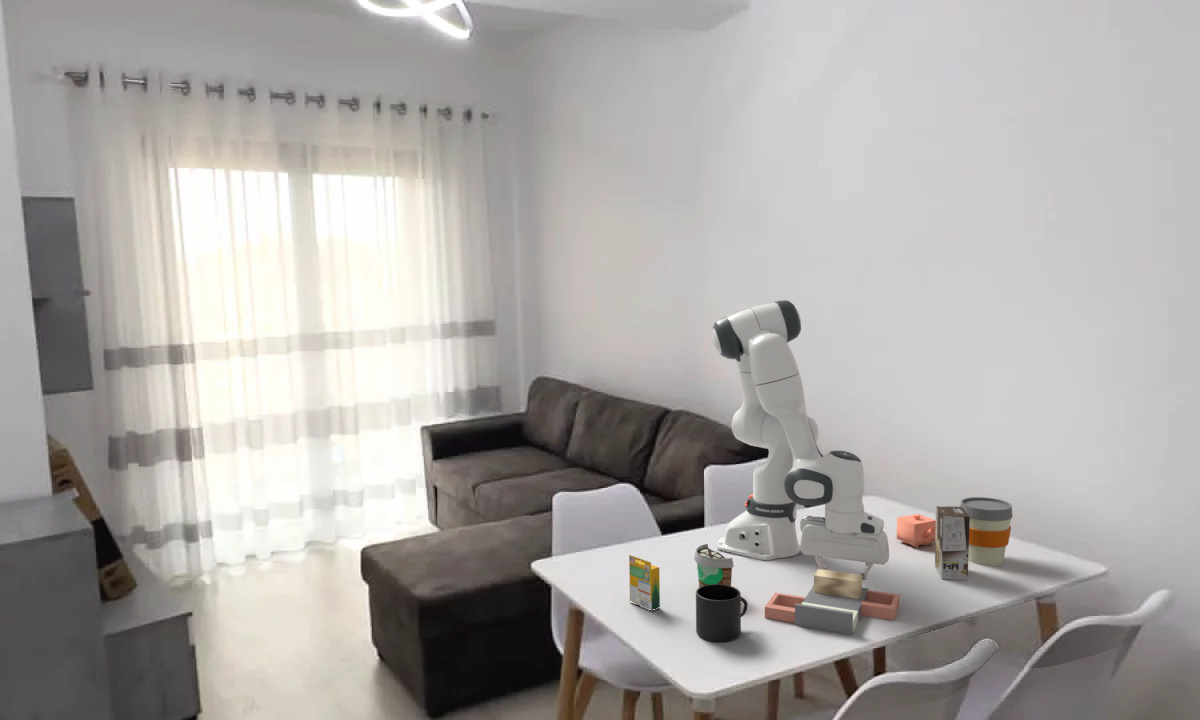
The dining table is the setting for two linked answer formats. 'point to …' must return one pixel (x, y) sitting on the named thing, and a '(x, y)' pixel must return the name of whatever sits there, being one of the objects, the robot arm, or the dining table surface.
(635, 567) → the crayon box
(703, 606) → the mug
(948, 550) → the coffee box
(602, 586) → the dining table surface
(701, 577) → the food container
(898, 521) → the pink cube teapot
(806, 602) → the board
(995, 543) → the reusable coffee cup
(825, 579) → the beech bar
